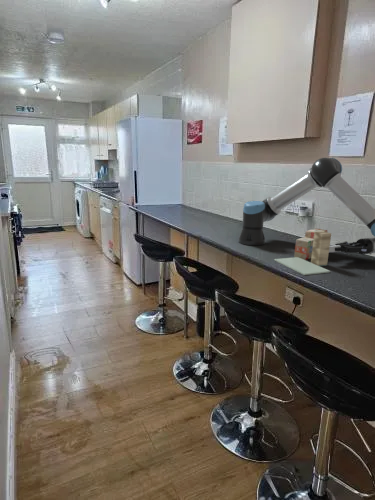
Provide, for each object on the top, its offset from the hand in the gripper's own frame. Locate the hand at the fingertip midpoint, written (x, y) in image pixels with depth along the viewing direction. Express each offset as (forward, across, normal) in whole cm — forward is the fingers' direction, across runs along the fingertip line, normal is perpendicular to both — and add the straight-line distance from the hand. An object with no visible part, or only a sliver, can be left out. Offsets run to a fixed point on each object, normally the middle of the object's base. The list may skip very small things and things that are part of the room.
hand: (327, 249), depth 151 cm
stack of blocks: (-3, +15, -7) cm, 17 cm away
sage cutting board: (+14, 0, -7) cm, 16 cm away
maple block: (+4, 0, -7) cm, 8 cm away
